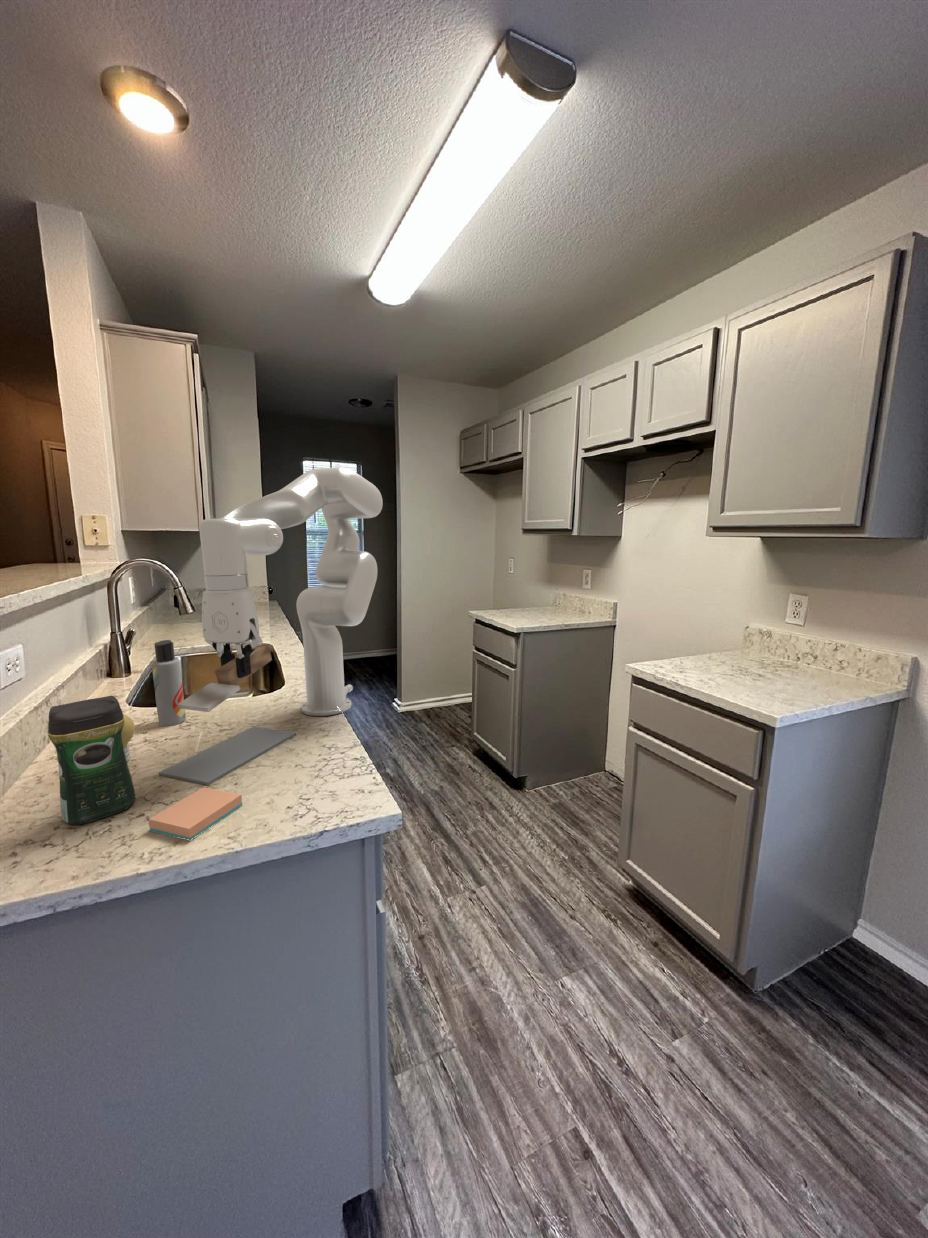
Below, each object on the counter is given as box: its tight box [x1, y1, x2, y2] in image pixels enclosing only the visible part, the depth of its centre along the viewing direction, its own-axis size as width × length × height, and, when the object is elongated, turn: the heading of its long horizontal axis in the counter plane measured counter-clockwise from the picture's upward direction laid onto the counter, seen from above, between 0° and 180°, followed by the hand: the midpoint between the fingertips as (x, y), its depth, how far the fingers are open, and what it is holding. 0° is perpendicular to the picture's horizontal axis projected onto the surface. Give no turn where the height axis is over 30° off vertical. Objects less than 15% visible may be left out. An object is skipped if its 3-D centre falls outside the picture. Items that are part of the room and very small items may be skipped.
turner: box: [177, 644, 273, 713], centre depth 95 cm, size 20×7×4 cm, turn 162°
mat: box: [158, 725, 297, 786], centre depth 100 cm, size 24×12×1 cm, turn 160°
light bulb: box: [122, 714, 136, 763], centre depth 95 cm, size 6×6×10 cm
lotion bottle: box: [151, 639, 187, 727], centre depth 116 cm, size 6×6×20 cm
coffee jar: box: [47, 695, 136, 826], centre depth 77 cm, size 10×8×19 cm
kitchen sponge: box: [148, 786, 243, 840], centre depth 76 cm, size 2×8×10 cm
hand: (237, 674), depth 97 cm, fingers closed on turner, 3 cm apart
